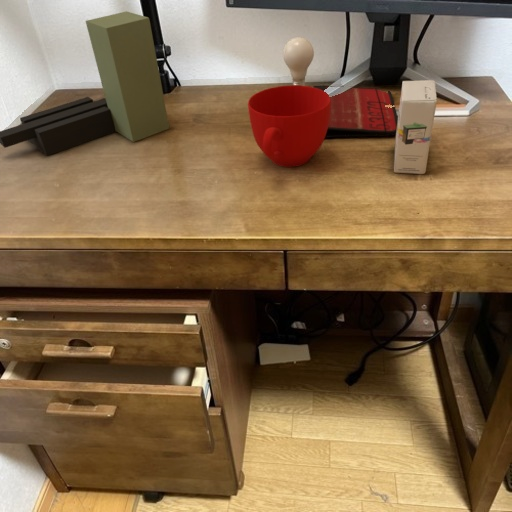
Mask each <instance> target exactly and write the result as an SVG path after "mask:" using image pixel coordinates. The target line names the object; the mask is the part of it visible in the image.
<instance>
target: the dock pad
mask: <svg viewBox="0 0 512 512" xmlns="http://www.w3.org/2000/svg"><path fill="white" fill-rule="evenodd" d="M91 102H94V99H93V98H91V97H90V96H85V97H83V98H79V99H76V100H73V101H70V102H67V103H63V104H60V105H56V106H54V107H51V108H47V109H44V110H40V111H38V112H34V113H31V114H28V115H24V116H21V117H19V120H20V122H21V125H22V124H25V123H28V122H31V121H34V120H37V119H41V118H44V117H47V116H50V115H53V114H56V113H59V112H63V111H66V110H69V109H72V108H75V107H78V106H82V105H85V104H88V103H91ZM35 132H36V135H37V137H36V138H33V139H30V140H28V141H29V142H30V143H31V144H32V145H34V147H36V148H37V149H38V150H40V152H42V153H43V154H44V155H45V156H47V157H48V156H51V155H54V154H56V153H57V154H58V153H60V152H62V151H65V150H68V149H71V148H74V147H76V146H80V145H82V144H85V143H87V142H90V141H93V140H97V139H99V138H101V137H105V136H107V135H111V134H113V133H115V132H116V130H115V126H114V122H113V119H112V115H111V111H110V109H109V108H107V107H102V108H99V109H96V110H93V111H90V112H87V113H84V114H81V115H77V116H74V117H71V118H68V119H65V120H62V121H59V122H56V123H53V124H50V125H47V126H44V127H41V128H38V129H35Z"/></svg>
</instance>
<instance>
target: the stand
mask: <svg viewBox="0 0 512 512" xmlns="http://www.w3.org/2000/svg"><path fill="white" fill-rule="evenodd" d="M85 24H86V29H87V33H88V37H89V41H90V44H91V48H92V51H93V56H94V61H95V63H96V67H97V70H98V75H99V78H100V82H101V86H102V91H103V94H104V98H106V102H107V106H108V108H109V109H110V111H111V115H112V119H113V122H114V126H115V130H116V132H117V133H118V134H119V135H121V136H123V137H125V139H127V140H129V141H131V142H132V143H135V142H137V141H141V140H143V139H145V138H149V137H151V136H154V135H157V134H159V133H162V132H164V131H166V130H170V124H169V118H168V113H167V108H166V101H165V97H164V91H163V86H162V80H161V74H160V69H159V64H158V58H157V53H156V48H155V43H154V37H153V31H152V25H151V21H150V18H149V17H148V16H144V15H141V14H138V13H134V12H130V11H122V12H117V13H113V14H109V15H104V16H101V17H97V18H92V19H88V20H85Z"/></svg>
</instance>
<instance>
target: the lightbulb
mask: <svg viewBox="0 0 512 512" xmlns="http://www.w3.org/2000/svg"><path fill="white" fill-rule="evenodd" d="M314 56H315V51H314V46H313V44H312V43H311V42H310V40H308V39H307V38H306V37H302V36H296V37H293V38H290V39H289V40H288V41H287V42H286V43H285V45H284V47H283V50H282V57H283V61H284V63H285V66H286V67H287V68H288V69H289V72H290V75H291V79H292V85H298V86H306V76H307V72H308V69H309V67H310V66H311V64H312V62H313V60H314Z"/></svg>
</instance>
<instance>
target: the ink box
mask: <svg viewBox="0 0 512 512" xmlns="http://www.w3.org/2000/svg"><path fill="white" fill-rule="evenodd" d="M401 82H402V84H401V90H400V91H401V92H400V100H399V106H398V114H397V117H398V122H397V130H396V135H395V140H394V155H393V156H394V157H393V173H397V174H415V175H423V174H426V171H427V165H428V158H429V152H430V146H431V139H432V134H433V133H432V132H433V128H434V122H435V116H436V115H435V114H436V109H437V102H438V100H437V99H438V98H437V88H436V86H437V85H436V81H435V80H433V79H426V80H425V79H424V80H422V79H421V80H402V81H401Z"/></svg>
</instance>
